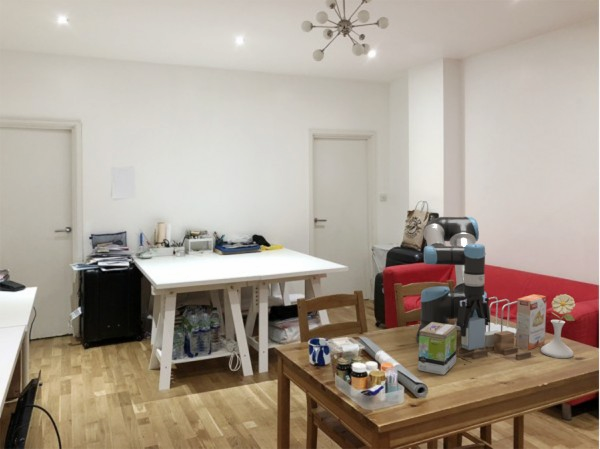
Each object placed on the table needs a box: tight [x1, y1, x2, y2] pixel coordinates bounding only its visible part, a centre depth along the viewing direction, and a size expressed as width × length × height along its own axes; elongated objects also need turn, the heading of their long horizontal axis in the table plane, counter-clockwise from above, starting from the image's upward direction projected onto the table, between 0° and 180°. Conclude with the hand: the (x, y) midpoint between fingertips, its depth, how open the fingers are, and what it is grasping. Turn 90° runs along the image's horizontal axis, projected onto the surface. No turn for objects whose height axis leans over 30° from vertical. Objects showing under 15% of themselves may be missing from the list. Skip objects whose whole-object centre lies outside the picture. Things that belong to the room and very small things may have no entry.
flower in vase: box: [540, 293, 576, 359], centre depth 193 cm, size 13×11×25 cm
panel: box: [461, 317, 485, 350], centre depth 193 cm, size 4×8×11 cm, turn 117°
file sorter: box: [454, 296, 517, 338], centre depth 228 cm, size 25×17×16 cm
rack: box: [477, 345, 537, 363], centre depth 198 cm, size 20×12×3 cm, turn 27°
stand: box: [456, 346, 491, 363], centre depth 194 cm, size 8×10×4 cm
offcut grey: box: [482, 330, 501, 349], centre depth 203 cm, size 4×9×6 cm, turn 117°
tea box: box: [417, 322, 458, 376], centre depth 184 cm, size 15×10×15 cm
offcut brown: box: [494, 331, 515, 354], centre depth 197 cm, size 4×7×8 cm, turn 117°
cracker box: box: [515, 293, 547, 351], centre depth 205 cm, size 14×6×21 cm, turn 130°
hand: (473, 342), depth 194 cm, fingers closed on panel, 8 cm apart
